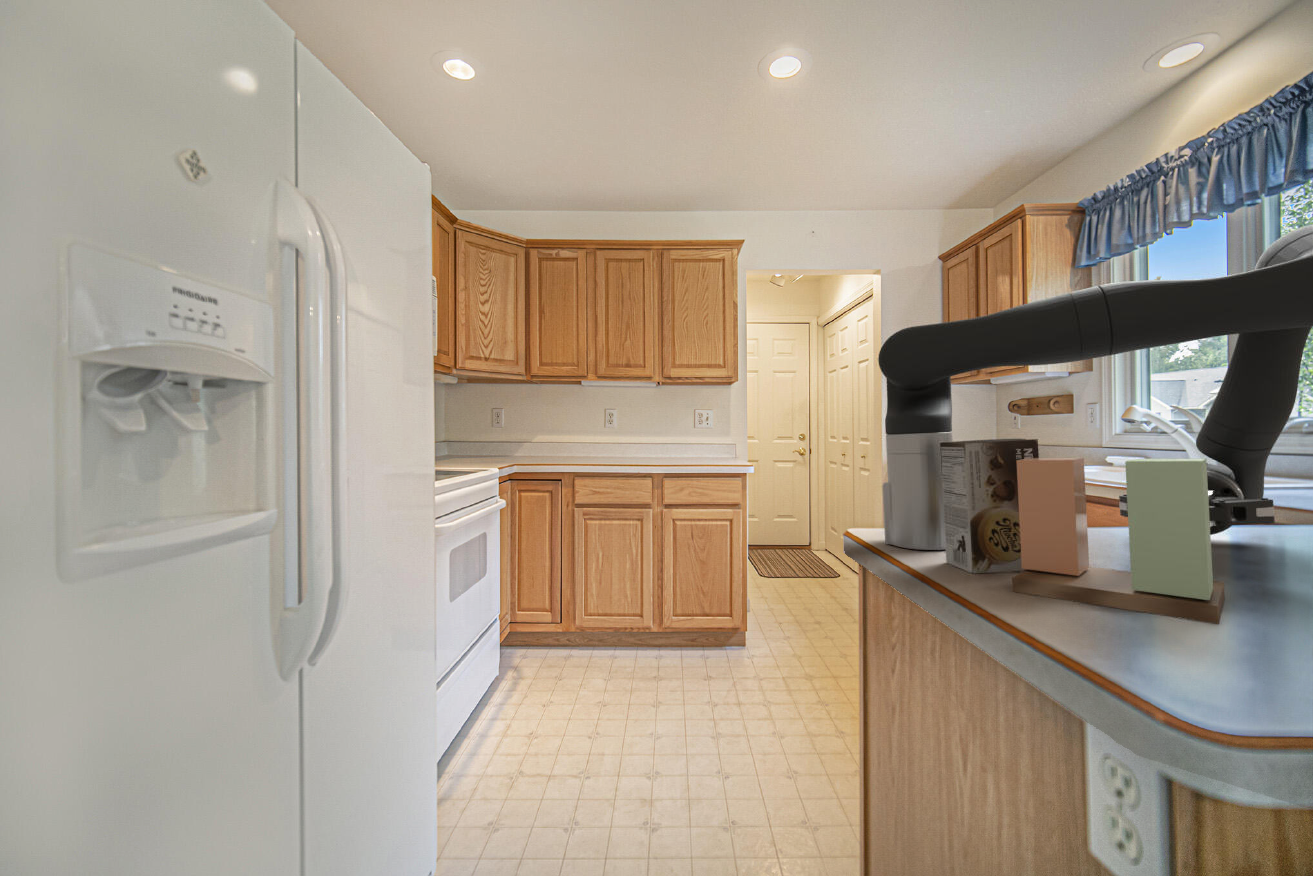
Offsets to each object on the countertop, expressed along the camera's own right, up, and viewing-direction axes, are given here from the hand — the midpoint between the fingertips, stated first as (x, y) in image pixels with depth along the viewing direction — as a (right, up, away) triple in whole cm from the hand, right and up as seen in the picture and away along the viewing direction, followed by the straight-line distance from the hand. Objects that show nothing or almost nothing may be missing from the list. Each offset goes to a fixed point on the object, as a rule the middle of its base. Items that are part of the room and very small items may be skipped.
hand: (1182, 517), depth 54 cm
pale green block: (-6, -6, -5) cm, 10 cm away
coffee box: (-12, -8, +12) cm, 19 cm away
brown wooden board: (-8, -8, -1) cm, 11 cm away
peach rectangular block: (-10, -6, +4) cm, 13 cm away
